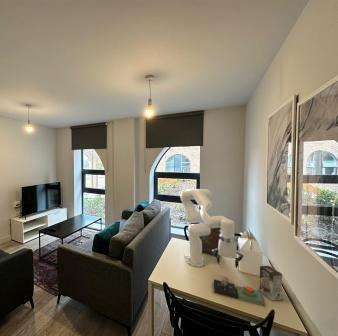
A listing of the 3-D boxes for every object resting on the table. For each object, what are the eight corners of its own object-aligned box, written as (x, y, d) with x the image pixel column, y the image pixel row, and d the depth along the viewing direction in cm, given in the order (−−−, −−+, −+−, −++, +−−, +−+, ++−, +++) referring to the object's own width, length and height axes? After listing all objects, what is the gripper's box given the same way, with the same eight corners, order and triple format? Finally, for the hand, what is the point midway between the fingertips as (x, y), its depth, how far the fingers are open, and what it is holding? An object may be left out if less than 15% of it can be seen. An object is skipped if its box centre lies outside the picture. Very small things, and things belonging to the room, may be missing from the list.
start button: (245, 292, 114) (245, 289, 113) (244, 288, 117) (244, 285, 117) (253, 294, 112) (253, 291, 112) (252, 289, 115) (252, 287, 115)
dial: (221, 287, 119) (221, 279, 119) (220, 283, 123) (220, 275, 123) (228, 288, 118) (228, 280, 117) (227, 285, 121) (227, 277, 121)
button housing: (238, 299, 113) (238, 292, 113) (236, 288, 122) (236, 282, 122) (263, 305, 108) (263, 298, 107) (258, 294, 117) (259, 287, 116)
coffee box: (258, 290, 120) (259, 265, 119) (268, 289, 121) (268, 265, 120) (272, 300, 111) (272, 274, 110) (282, 299, 112) (282, 273, 111)
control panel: (214, 293, 118) (214, 288, 118) (213, 283, 127) (213, 278, 127) (236, 298, 113) (236, 293, 113) (234, 288, 122) (234, 283, 122)
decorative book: (219, 253, 167) (219, 220, 165) (219, 257, 160) (219, 222, 159) (190, 248, 178) (190, 217, 176) (190, 251, 172) (190, 219, 170)
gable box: (238, 257, 159) (238, 225, 157) (257, 262, 152) (258, 228, 151) (239, 271, 140) (240, 235, 138) (262, 277, 133) (262, 238, 132)
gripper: (242, 238, 119) (242, 265, 120) (211, 235, 126) (211, 259, 127) (244, 243, 112) (244, 271, 113) (212, 239, 120) (212, 265, 120)
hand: (227, 265), depth 120 cm, fingers open, 9 cm apart
